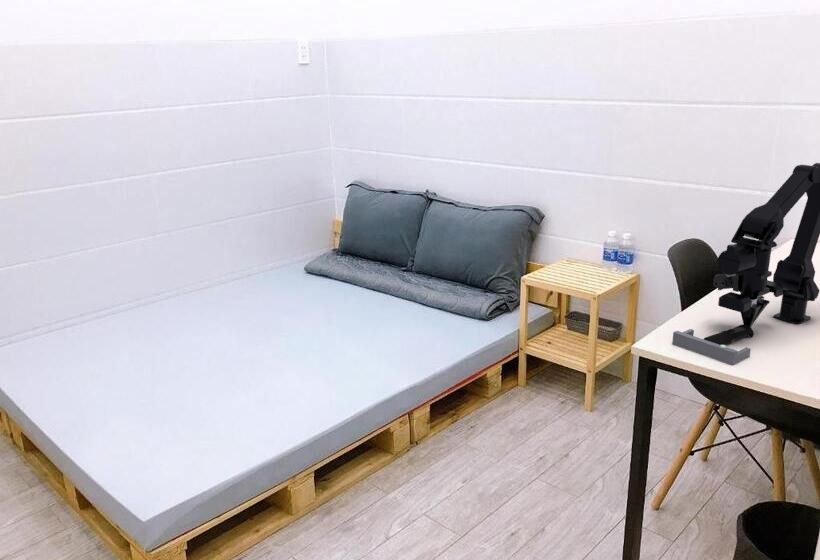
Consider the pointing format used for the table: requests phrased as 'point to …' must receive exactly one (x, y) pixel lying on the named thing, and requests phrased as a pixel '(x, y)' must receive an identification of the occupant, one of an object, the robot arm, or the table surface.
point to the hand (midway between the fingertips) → (746, 328)
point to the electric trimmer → (731, 335)
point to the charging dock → (709, 347)
